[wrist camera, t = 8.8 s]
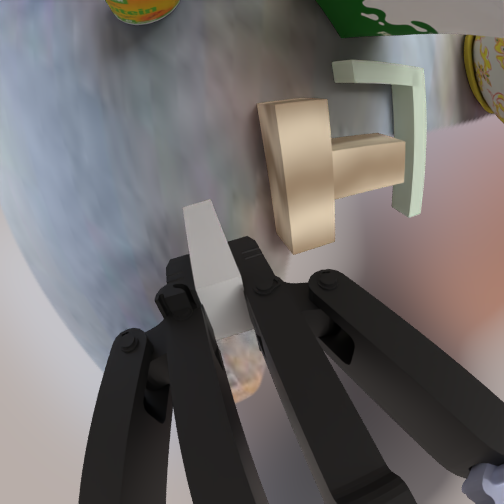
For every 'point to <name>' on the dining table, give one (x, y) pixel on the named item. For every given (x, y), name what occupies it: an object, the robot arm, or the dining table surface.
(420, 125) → the corner stop
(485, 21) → the milk carton
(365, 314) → the robot arm
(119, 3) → the supplement bottle
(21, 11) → the dining table surface
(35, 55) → the dining table surface
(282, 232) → the t block
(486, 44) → the flowerpot
